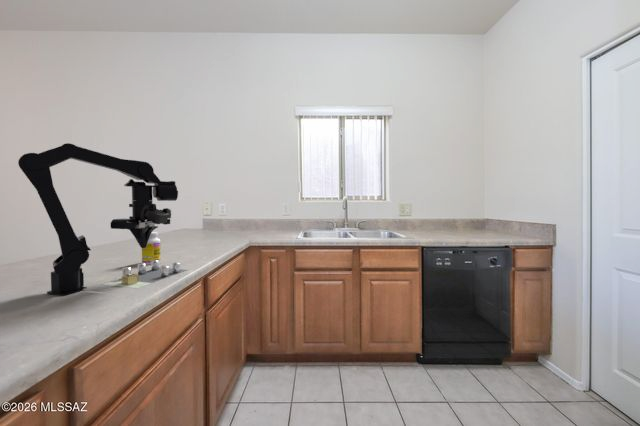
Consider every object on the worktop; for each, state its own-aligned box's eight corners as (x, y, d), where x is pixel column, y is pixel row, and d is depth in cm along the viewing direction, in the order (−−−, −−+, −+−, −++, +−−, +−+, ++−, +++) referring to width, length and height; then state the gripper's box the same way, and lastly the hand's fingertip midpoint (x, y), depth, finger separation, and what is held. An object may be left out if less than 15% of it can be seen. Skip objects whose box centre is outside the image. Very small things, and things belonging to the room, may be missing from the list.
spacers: (152, 282, 94) (152, 271, 94) (120, 279, 97) (120, 268, 97) (183, 271, 108) (183, 261, 108) (154, 268, 111) (154, 259, 111)
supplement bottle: (154, 265, 118) (154, 233, 117) (138, 265, 118) (137, 233, 117) (163, 262, 124) (163, 231, 124) (148, 261, 124) (147, 231, 124)
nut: (131, 285, 90) (131, 277, 90) (118, 284, 91) (118, 276, 91) (141, 281, 94) (141, 274, 94) (129, 280, 95) (129, 273, 95)
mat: (136, 289, 88) (136, 288, 88) (101, 285, 91) (101, 284, 91) (188, 271, 110) (188, 270, 110) (158, 268, 113) (158, 267, 113)
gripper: (139, 201, 86) (140, 254, 87) (183, 200, 104) (183, 244, 105) (108, 200, 88) (109, 252, 89) (156, 200, 107) (157, 243, 107)
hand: (143, 248), depth 98 cm, fingers closed
